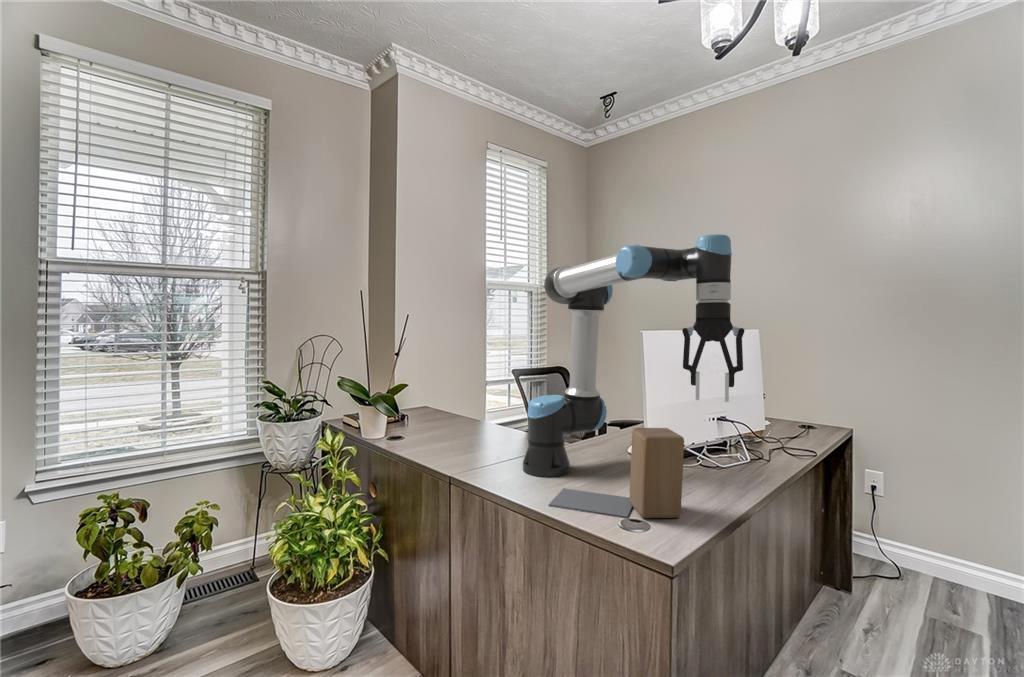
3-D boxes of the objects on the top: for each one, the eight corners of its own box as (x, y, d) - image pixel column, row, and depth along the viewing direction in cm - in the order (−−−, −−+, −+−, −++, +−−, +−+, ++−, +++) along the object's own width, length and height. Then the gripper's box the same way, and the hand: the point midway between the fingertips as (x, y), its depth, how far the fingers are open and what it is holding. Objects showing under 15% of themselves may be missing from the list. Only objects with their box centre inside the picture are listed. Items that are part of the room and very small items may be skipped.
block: (628, 503, 124) (631, 426, 123) (665, 503, 125) (668, 427, 124) (641, 519, 114) (645, 436, 113) (682, 519, 115) (686, 436, 114)
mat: (548, 505, 123) (548, 504, 123) (563, 489, 135) (563, 488, 135) (627, 518, 115) (627, 516, 115) (635, 499, 127) (635, 498, 127)
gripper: (669, 302, 113) (669, 400, 113) (759, 300, 105) (757, 405, 106) (672, 303, 119) (671, 395, 120) (756, 301, 112) (755, 400, 113)
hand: (711, 399), depth 113 cm, fingers open, 6 cm apart
